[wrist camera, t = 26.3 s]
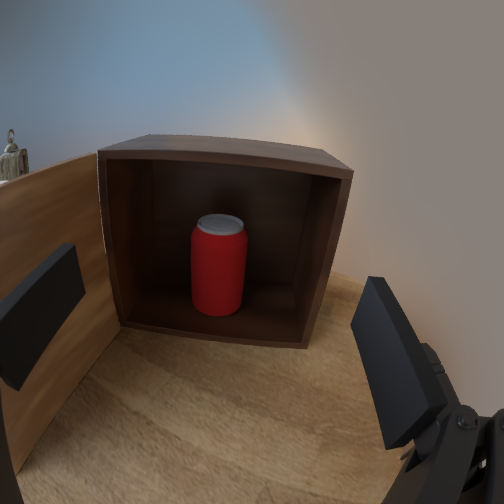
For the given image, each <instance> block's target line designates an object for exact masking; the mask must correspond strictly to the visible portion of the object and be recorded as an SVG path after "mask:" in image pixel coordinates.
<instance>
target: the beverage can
mask: <svg viewBox="0 0 504 504" xmlns="http://www.w3.org/2000/svg"><path fill="white" fill-rule="evenodd" d="M247 246H248V235H247V233H246V230H245V228H244V223H243V222H242V220H240V219H239V218H237V217H234V216H230V215H225V214H211V215H206V216H203V217H201V218H200V219H199V220H198V224H197V225H196V227H195V229H194V230H193V232H192V235H191V291H192V303H193V305H194V307H195V308H196V309H197V310H198V311H200V312H202V313H204V314H207V315H211V316H225V315H229V314H231V313H233V312H235V311H236V310H238V308H239V307H240V305H241V300H242V292H243V284H244V275H245V266H246V256H247Z"/></svg>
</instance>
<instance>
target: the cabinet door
mask: <svg viewBox="0 0 504 504" xmlns="http://www.w3.org/2000/svg"><path fill="white" fill-rule="evenodd" d="M63 243H66V244H74V245H75V246H76V251H77V256H78V261H79V266H80V270H81V274H82V279H83V283H84V287H85V291H86V294H85V295H84V297H83V298H82V299H81V301H80V302H79V303H78V304H77V306H76V307H75V308H74V310H73V311H72V312H71V314H70V315H69V316H68V318H67V319H66V321H65V322H64V323H63V325H62V326H61V328H60V329H59V330H58V332H57V333H56V335H55V336H54V337H53V339H52V340H51V342H50V343H49V345H48V346H47V348H46V349H45V351H44V352H43V354H42V355H41V357H40V358H39V360H38V361H37V363H36V365H35V366H34V368H33V369H32V371H31V372H30V374H29V376H28V377H27V379H26V381H25V382H24V384H23V386H22V387H21V389H20V391H19V392H18V391H16V390H14V389H12V388H11V387H9V386H7V385H6V384H5V382H4V381H3V379H2V378H1V377H0V388H1V400H2V410H3V418H4V425H5V431H6V437H7V442H8V447H9V452H10V457H11V461H12V465H13V469H14V473H15V475H17V473H18V472H19V470H20V468H21V467H22V465H23V464H24V462H25V460H26V459H27V457H28V456H29V454H30V453H31V451H32V450H33V448H34V447H35V445H36V443H37V442H38V440H39V439H40V438H41V436H42V435H43V433H44V432H45V430H46V429H47V427H48V426H49V424H50V423H51V421H52V420H53V419H54V417H55V416H56V414H57V413H58V411H59V410H60V409H61V407H62V406H63V405H64V403H65V402H66V400H67V399H68V398H69V396H70V395H71V393H72V392H73V391H74V389H75V388H76V387H77V385H78V384H79V383H80V381H81V380H82V379H83V377H84V376H85V375H86V373H87V372H88V371H89V369H90V368H91V367H92V365H93V364H94V363H95V362H96V360H97V359H98V358H99V356H100V355H101V354H102V353H103V351H104V350H105V349H106V347H107V346H108V345H109V344H110V342H111V341H112V340H113V339H114V337H115V336H116V335H117V334H118V332H119V331H120V330H121V329H120V325H119V320H118V316H117V312H116V308H115V303H114V298H113V294H112V289H111V284H110V278H109V273H108V267H107V261H106V255H105V248H104V241H103V233H102V225H101V216H100V205H99V194H98V177H97V154H96V153H88V154H84V155H80V156H77V157H74V158H71V159H67V160H65V161H61V162H58V163H55V164H52V165H49V166H46V167H44V168H41V169H38V170H35V171H33V172H30V173H27V174H25V175H22V176H20V177H17V178H15V179H12V180H10V181H7V182H5V183H3V184H0V300H1V299H2V298H4V297H5V296H7V295H8V294H10V293H11V292H12V291H13V289H14V288H15V287H16V286H17V285H18V284H19V283H20V282H21V281H22V280H24V279H25V278H26V277H27V276H28V275H29V274H30V273H31V272H32V271H33V270H34V269H35V268H36V267H37V266H38V265H39V264H40V263H41V262H43V261H44V260H45V259H46V258H47V257H48V256H49V255H50V254H51V253H53V252H54V251H55V250H56V249H57V248H58V247H59V246H61V245H62V244H63Z"/></svg>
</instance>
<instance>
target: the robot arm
mask: <svg viewBox="0 0 504 504" xmlns="http://www.w3.org/2000/svg"><path fill="white" fill-rule="evenodd" d="M85 294H86V291H85V287H84V283H83V279H82V274H81V270H80V266H79V261H78V256H77V251H76V246H75V245H74V244H66V243H63V244H62V245H61V246H59V247H58V248H57V249H56V250H55V251H54V252H53V253H51V254H50V255H49V256H48V257H47V258H46V259H45V260H44V261H43V262H41V263H40V264H39V265H38V266H37V267H36V268H35V269H34V270H33V271H32V272H31V273H30V274H29V275H28V276H27V277H26V278H25V279H24V280H22V281H21V282H20V283H19V284H18V285H17V286H16V287H15V288H14V289H13V291H12V292H11V293H10V294H8V295H7V296H5V297H4V298H2V299H1V300H0V377H1V378H2V379H3V381H4V382H5V384H6V385H7V386H9V387H11V388H12V389H14V390H16V391H18V392H19V391H20V389H21V387H22V386H23V384H24V382H25V381H26V379H27V377H28V376H29V374H30V372H31V371H32V369H33V368H34V366H35V365H36V363H37V361H38V360H39V358H40V357H41V355H42V354H43V352H44V351H45V349H46V348H47V346H48V345H49V343H50V342H51V340H52V339H53V337H54V336H55V335H56V333H57V332H58V330H59V329H60V328H61V326H62V325H63V323H64V322H65V321H66V319H67V318H68V316H69V315H70V314H71V312H72V311H73V310H74V308H75V307H76V306H77V304H78V303H79V302H80V301H81V299H82V298H83V297H84V295H85ZM350 325H351V328H352V331H353V334H354V337H355V340H356V343H357V346H358V350H359V353H360V356H361V359H362V363H363V366H364V369H365V373H366V376H367V379H368V383H369V386H370V390H371V394H372V397H373V401H374V405H375V408H376V412H377V416H378V420H379V424H380V428H381V432H382V436H383V440H384V445H385V449H386V450H389V449H394V448H399V447H404V446H405V445H406V444H408V443H409V442H410V441H411V440H412V439H413V440H414V444H415V446H414V447H413V448H411V449H410V450H409V451H408V452H406V453H405V454H404V455H403V456H402V457H401V458H400V460H403V459H405V458H406V457H407V456H408V457H407V459H406V461H405V463H404V465H403V467H402V469H401V470H400V472H399V474H398V476H397V478H396V480H395V481H394V483H393V485H392V487H391V488H390V490H389V492H388V493H387V495H386V497H385V498H384V500H383V501H382V503H381V504H504V409H500V410H499V411H498V412H497V413H496V414H495V415H494V416H493V417H480V416H478V414H477V413H476V412H475V410H474V409H472V408H471V407H469V406H466V405H461V404H460V402H459V400H458V397H457V395H456V393H455V391H454V389H453V386H452V384H451V382H450V380H449V378H448V376H447V374H446V373H445V370H444V368H443V366H442V365H441V362H440V360H439V358H438V356H437V354H436V352H435V351H434V350H433V349H432V348H431V347H430V346H429V345H428V344H427V343H420V342H419V340H418V338H417V336H416V334H415V332H414V330H413V328H412V326H411V325H410V323H409V321H408V319H407V317H406V315H405V314H404V312H403V310H402V308H401V307H400V305H399V303H398V301H397V299H396V298H395V296H394V294H393V292H392V291H391V289H390V287H389V286H388V284H387V282H386V281H385V279H384V278H383V277H372V276H368V279H367V282H366V285H365V287H364V290H363V293H362V296H361V298H360V301H359V304H358V306H357V309H356V312H355V314H354V317H353V319H352V322H351V324H350ZM485 459H486V466H485V467H482V461H484V460H485ZM0 504H24V501H23V499H22V496H21V493H20V490H19V486H18V483H17V480H16V476H15V473H14V469H13V465H12V461H11V457H10V452H9V447H8V442H7V437H6V431H5V425H4V418H3V410H2V400H1V388H0Z"/></svg>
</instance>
